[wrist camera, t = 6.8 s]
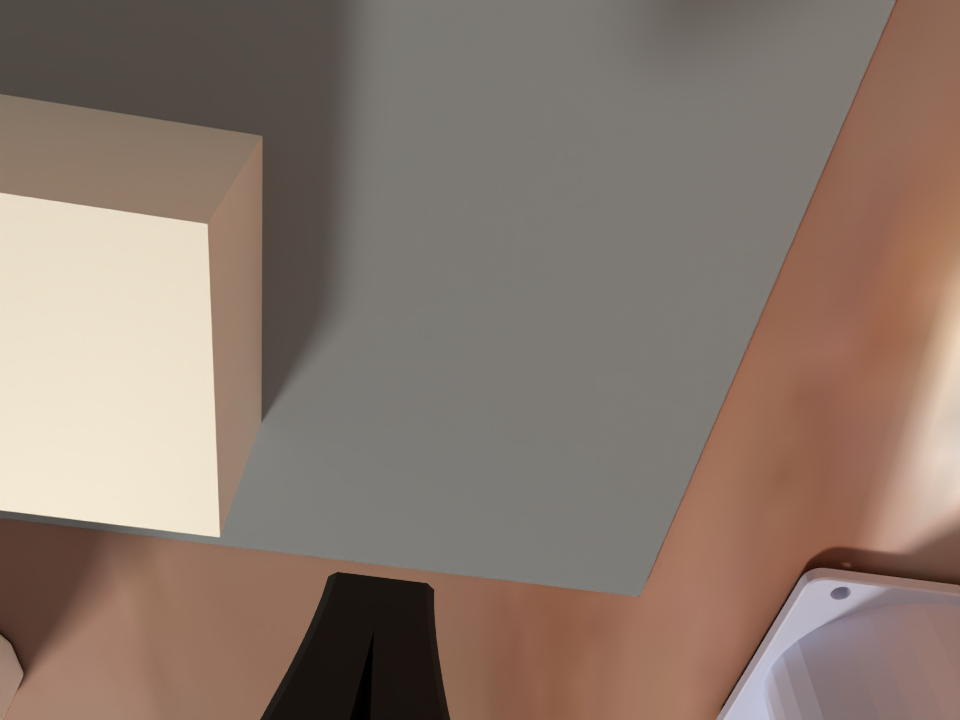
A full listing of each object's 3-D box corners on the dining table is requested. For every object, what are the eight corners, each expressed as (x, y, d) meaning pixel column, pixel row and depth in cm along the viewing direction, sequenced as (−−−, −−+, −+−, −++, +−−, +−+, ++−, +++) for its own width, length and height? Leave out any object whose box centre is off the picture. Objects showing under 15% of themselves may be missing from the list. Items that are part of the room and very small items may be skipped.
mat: (901, -33, 14) (908, -29, 13) (638, 587, 23) (639, 596, 23) (-404, -274, 12) (-423, -274, 12) (-116, 494, 22) (-123, 502, 21)
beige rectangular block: (207, 223, 12) (-362, 137, 12) (220, 537, 17) (-203, 484, 16) (262, 135, 15) (-196, 62, 15) (261, 421, 19) (-96, 374, 19)
